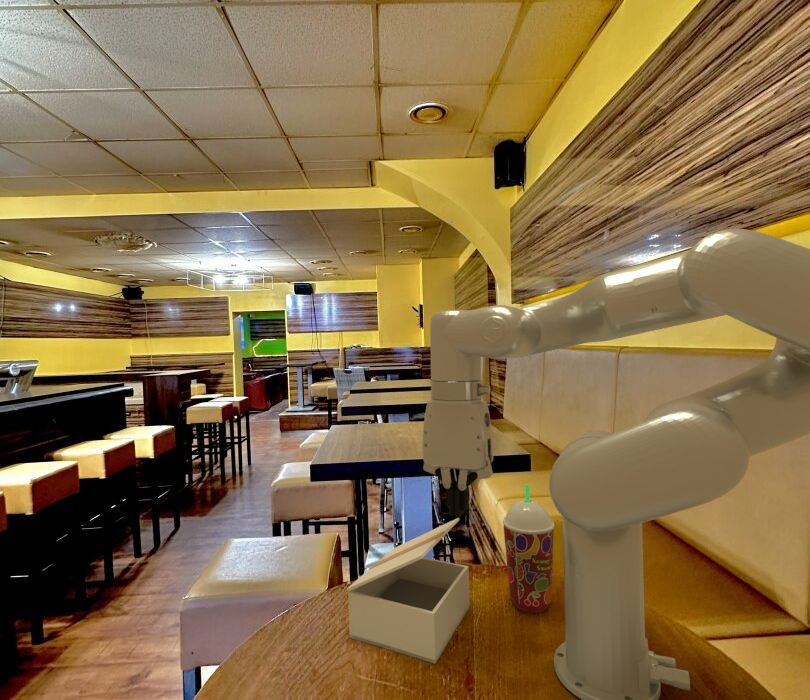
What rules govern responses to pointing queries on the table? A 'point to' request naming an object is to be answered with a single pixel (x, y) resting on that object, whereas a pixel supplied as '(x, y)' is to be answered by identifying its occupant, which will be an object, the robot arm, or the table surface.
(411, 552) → the lid
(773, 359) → the robot arm
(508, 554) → the smoothie
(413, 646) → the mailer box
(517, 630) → the table surface
